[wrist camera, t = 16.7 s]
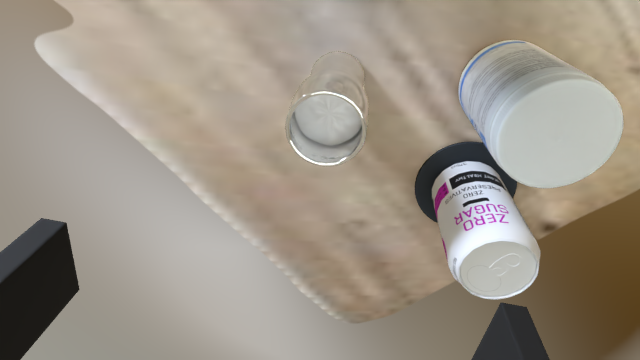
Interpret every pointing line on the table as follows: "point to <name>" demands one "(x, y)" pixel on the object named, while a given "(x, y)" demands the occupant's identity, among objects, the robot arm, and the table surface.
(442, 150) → the coaster
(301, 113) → the beer glass
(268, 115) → the table surface
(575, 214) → the table surface
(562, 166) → the supplement tub
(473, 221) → the supplement can
